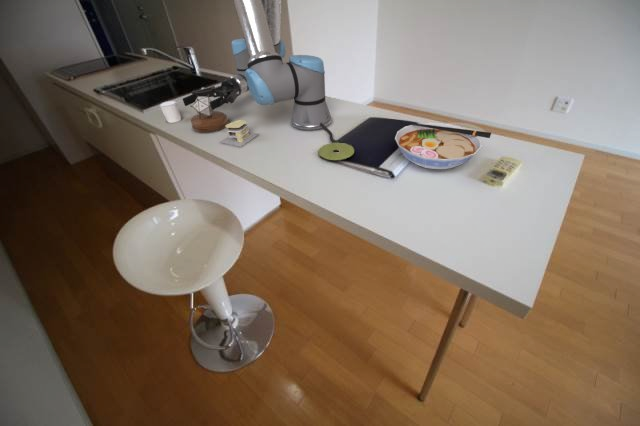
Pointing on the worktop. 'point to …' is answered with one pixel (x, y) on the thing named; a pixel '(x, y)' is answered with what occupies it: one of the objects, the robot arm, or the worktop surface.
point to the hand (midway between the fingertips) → (197, 104)
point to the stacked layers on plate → (238, 133)
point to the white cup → (171, 111)
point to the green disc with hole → (329, 149)
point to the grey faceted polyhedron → (202, 106)
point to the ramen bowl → (438, 144)
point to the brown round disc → (209, 122)
